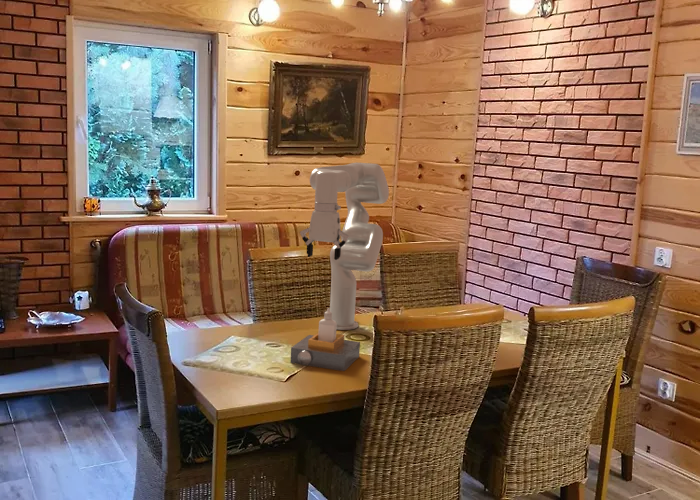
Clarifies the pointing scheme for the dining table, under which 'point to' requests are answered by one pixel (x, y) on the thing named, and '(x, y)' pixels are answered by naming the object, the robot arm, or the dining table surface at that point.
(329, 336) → the eye dropper bottle
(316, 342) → the grey scale with tray
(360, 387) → the dining table surface
